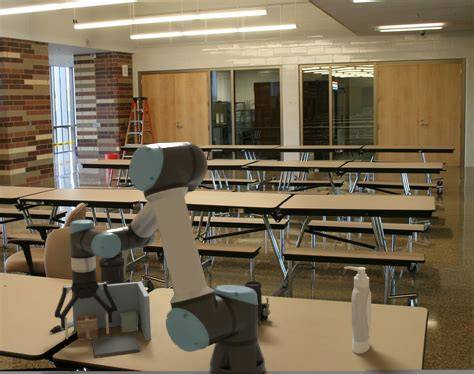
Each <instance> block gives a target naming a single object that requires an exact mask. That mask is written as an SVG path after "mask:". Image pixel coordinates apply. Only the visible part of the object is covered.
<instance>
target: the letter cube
mask: <svg viewBox="0 0 474 374" xmlns="http://www.w3.org/2000/svg"><path fill="white" fill-rule="evenodd" d="M76 333H77V339H86V340H90V339H89V338H94V339H96V338H99V337H98V335H99V333H98V328H97V318H96V314H91V315H82V316H77V331H76Z"/></svg>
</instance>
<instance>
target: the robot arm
mask: <svg viewBox="0 0 474 374" xmlns="http://www.w3.org/2000/svg"><path fill="white" fill-rule="evenodd" d="M208 166H209V165H208V159H207V156H206V154H205V152H204V151H203V149H201V147H200V146H198V145H196V144H195V143H193V142H189V141H179V142H161V143H160V142H159V143H156V142H155V143H151V144H146V145H145V144H143V145H142V146H140V147H138V148H137V149H136V150H135V151H134V152H133V154H132V156H131V159H130V161H129V171H128V172H129V179H130V182H131V184H132V186H134V188H135V189H136V190H137V191H140V192H143V198H144V199H145V200H146V201H147V202H146V203H145V204H144V206H143V207H142V208H141V209H140V210H139V212H138V213H137V214H136V215H135V217H134V218H133V219H132V221H131V222H129V224H128V225H124V226H120V227H115V228H110V229H103V230H99V229H95V223H94V221H93V220H91V219H77V220H73V221H71V222H70V223H69V233H68V235H69V245H70V247H69V248H70V263H71V264H70V265H71V270H72V271H71V279H72V280H71V281H72V283H71V285H70V286H67V285H63V286H62V288H61V290H62V293H61V296H60V298H59V300H58V303H57V305H56V309H55V310H54V317H55V318H58V319H60V324H61V327H62V328H65V329H64V330H65V332H64V333H65V339H66V340H68V339H69V330H68V329H69V327H68V324H67V321H68V316H67V315H68V314H69V312H70V311H71V309H73V305H74V303H75V302H76V301H77V300H78V298H80V299H84V298H91V297H92V296H93V297H94V298H95V299H96V300H97V301H98V302H99V304H100V305H101V306H102V307H103V308H104V309H105V310H106V311H107V312H105V322H106V327H105V333H106V335H109V334H110V327H109V323H112V312H114V311H117V307H116V305H115V303H114V301H113V299H112V297H111V295H110V293H109V291H108V288H107V283H106V282H103V283H101V282H100V283H99V282H98V277H97V276H98V275H97V262H96V261H97V259H96V258H97V257H99V258H112V257H114V256H115V255H116V254H118V253H119V252H122V253H123V252H126V251H132V250H136V249H143V248H145V247H147V246H150V245H152V244H153V242H154V241H155V237H156V236H155V234H156V231H157V229H158V233H159V237H160V241H161V245H162V249H163V253H164V258H165V261H166V264H167V269H168V274H169V278H170V281H171V286H172V289H173V296H172V297H171V299H170V301H169V302H170V308H171V309H170V310H169V311H168V312H167V315H166V319H165V327H166V328H165V329H166V331H167V334H168V336H169V338H170V339H171V341H172V343H173V344H174V345H175V346H177V347H178V348H179V349H180V350H182V351H184V352H189V353H191V352H192V353H193V352H196V351H199V350H204V349H206V348H207V347H210V346H212V345H214V347H213V351H212V353H211V357H210V360H209V371H210V372H211V374H263V373H264V372H265V368H266V361H265V360H266V359H265V358H264V354H263V351H262V349H261V346H260V344H259V343H260V342H259V326H258V303H257V294H256V292H255V290H253V289H251V288H249V287H245V285H235V284H221V285H217V286H216V287H215V288H214V289H213V288H211V287H210V286H208V285H207V281H206V278H205V275H204V270H203V267H202V266H203V265H202V262H201V258H200V254H199V249H198V246H197V242H196V238H195V234H194V229H193V225H192V222H191V218H190V213H189V210H188V205H187V201H186V198H185V197H186V195H187V194H188V193H192V192H194V191H196V189H197V188H198V187H199V186H200V185H201V184H202V182H203V181H204V179H205V178H206V175H207V172H208ZM99 287H100V288H101V290H104V292H105V294H106V296H107V298H108V300H109V302H110V304H111V306H112V307H111V308H110V307H109V306H108V305H107V304H106V303H105V302H104V301H103V300H102V298H101V297H100V296H99V295H98V294H97V293H96V291H97V289H98V288H99ZM70 291H71V292H72V291H73V293H74V295H73V297H72V296H71V298H70V299H69V302H68V303H67V304H66V306H65V307H64V308H63V305H64V304H65V301H66V298H67V295H68V294H69V293H70ZM62 308H63V310H62ZM61 311H62V312H61Z"/></svg>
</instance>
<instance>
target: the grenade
mask: <svg viewBox="0 0 474 374" xmlns="http://www.w3.org/2000/svg"><path fill="white" fill-rule="evenodd" d="M98 264H99V265H98V266H99V269H100V277H101V278H100V283H103V282H106V283H107V285H110V284H120V283H125V274H124V271H125V270H124V267H125V258H124V254H123V252H119V253H118V254H116V255H115V256H114V257H112V258H102V257H100V259H99V260H98Z"/></svg>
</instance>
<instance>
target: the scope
mask: <svg viewBox="0 0 474 374" xmlns="http://www.w3.org/2000/svg"><path fill="white" fill-rule="evenodd" d="M244 286H245V287H249V288H251V289H253V290H255V292H256V294H257V303H258V327H259V326H260V325H261V321H267V320H268V319H269V316H270V314H271V310H270V302H269V301H270V300H269V296H268V297H266V298H265V299H266V302H265V303H264V302H263V301H262V298H263V297H262V289H261V288H262V282H260V281H256V280H255V281H247V282H245V283H244Z"/></svg>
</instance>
